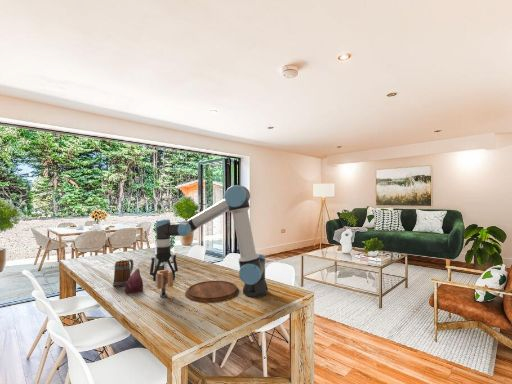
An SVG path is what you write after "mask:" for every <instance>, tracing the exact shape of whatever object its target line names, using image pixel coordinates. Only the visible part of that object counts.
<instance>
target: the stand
mask: <svg viewBox="0 0 512 384" xmlns="http://www.w3.org/2000/svg"><path fill="white" fill-rule="evenodd" d="M166 285H167V284H166V277H163V288H161V294H160V295H159V298H166V297H168V293H166V289H167V288H166V287H167V286H166Z"/></svg>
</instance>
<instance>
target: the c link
mask: <svg viewBox="0 0 512 384" xmlns="http://www.w3.org/2000/svg"><path fill="white" fill-rule="evenodd" d="M156 275H157V287H156V288H157V289H158V290H160V289H161V290H162V288H163V277H166V285H167V287H168V288H171V287H173V286H174V278H173V272H172V271H171V269H170V268H167V269H162V270H158V271H157V273H156Z"/></svg>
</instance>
